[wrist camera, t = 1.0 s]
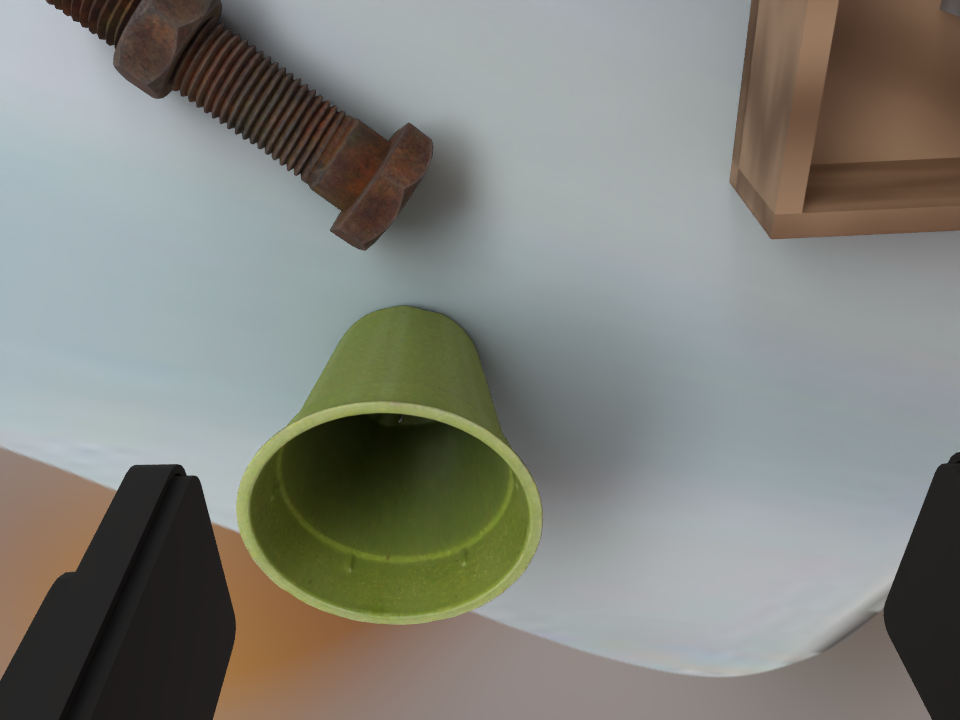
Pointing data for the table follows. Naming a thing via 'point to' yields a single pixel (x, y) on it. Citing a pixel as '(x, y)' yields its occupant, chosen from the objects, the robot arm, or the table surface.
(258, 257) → the table surface
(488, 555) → the plant pot
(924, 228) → the walled box
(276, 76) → the bolt
